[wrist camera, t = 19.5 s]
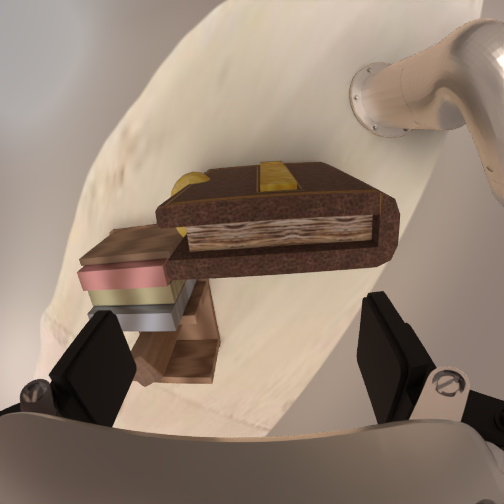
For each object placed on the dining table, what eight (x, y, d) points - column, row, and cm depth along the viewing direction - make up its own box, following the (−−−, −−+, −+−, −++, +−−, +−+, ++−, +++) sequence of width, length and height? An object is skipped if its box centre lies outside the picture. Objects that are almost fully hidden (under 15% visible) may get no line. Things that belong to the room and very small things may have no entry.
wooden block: (158, 330, 56) (127, 397, 39) (141, 314, 54) (105, 378, 38) (189, 308, 53) (164, 378, 37) (172, 290, 52) (139, 356, 36)
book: (331, 154, 44) (401, 178, 21) (333, 207, 47) (394, 277, 24) (190, 164, 45) (122, 197, 22) (196, 216, 49) (142, 292, 25)
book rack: (198, 219, 49) (170, 259, 33) (220, 342, 58) (209, 405, 43) (113, 229, 50) (63, 268, 35) (146, 343, 59) (120, 399, 44)
